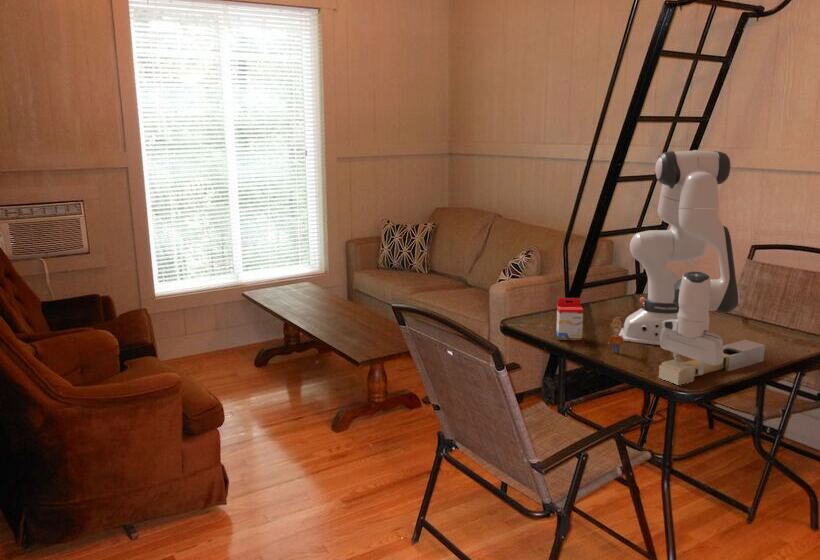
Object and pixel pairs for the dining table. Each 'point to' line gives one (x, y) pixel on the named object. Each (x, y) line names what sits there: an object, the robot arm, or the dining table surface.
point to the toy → (616, 333)
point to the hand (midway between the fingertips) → (689, 370)
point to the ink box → (569, 318)
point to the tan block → (709, 367)
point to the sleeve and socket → (738, 357)
